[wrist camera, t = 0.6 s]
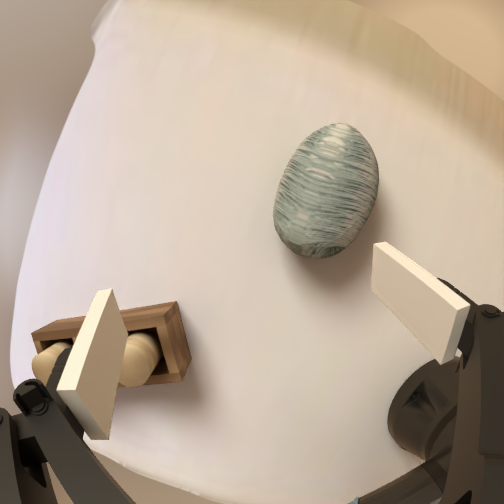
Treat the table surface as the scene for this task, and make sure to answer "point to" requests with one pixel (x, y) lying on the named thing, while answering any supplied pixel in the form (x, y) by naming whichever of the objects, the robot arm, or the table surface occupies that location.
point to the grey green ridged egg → (326, 192)
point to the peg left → (48, 360)
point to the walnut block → (144, 318)
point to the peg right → (139, 358)
